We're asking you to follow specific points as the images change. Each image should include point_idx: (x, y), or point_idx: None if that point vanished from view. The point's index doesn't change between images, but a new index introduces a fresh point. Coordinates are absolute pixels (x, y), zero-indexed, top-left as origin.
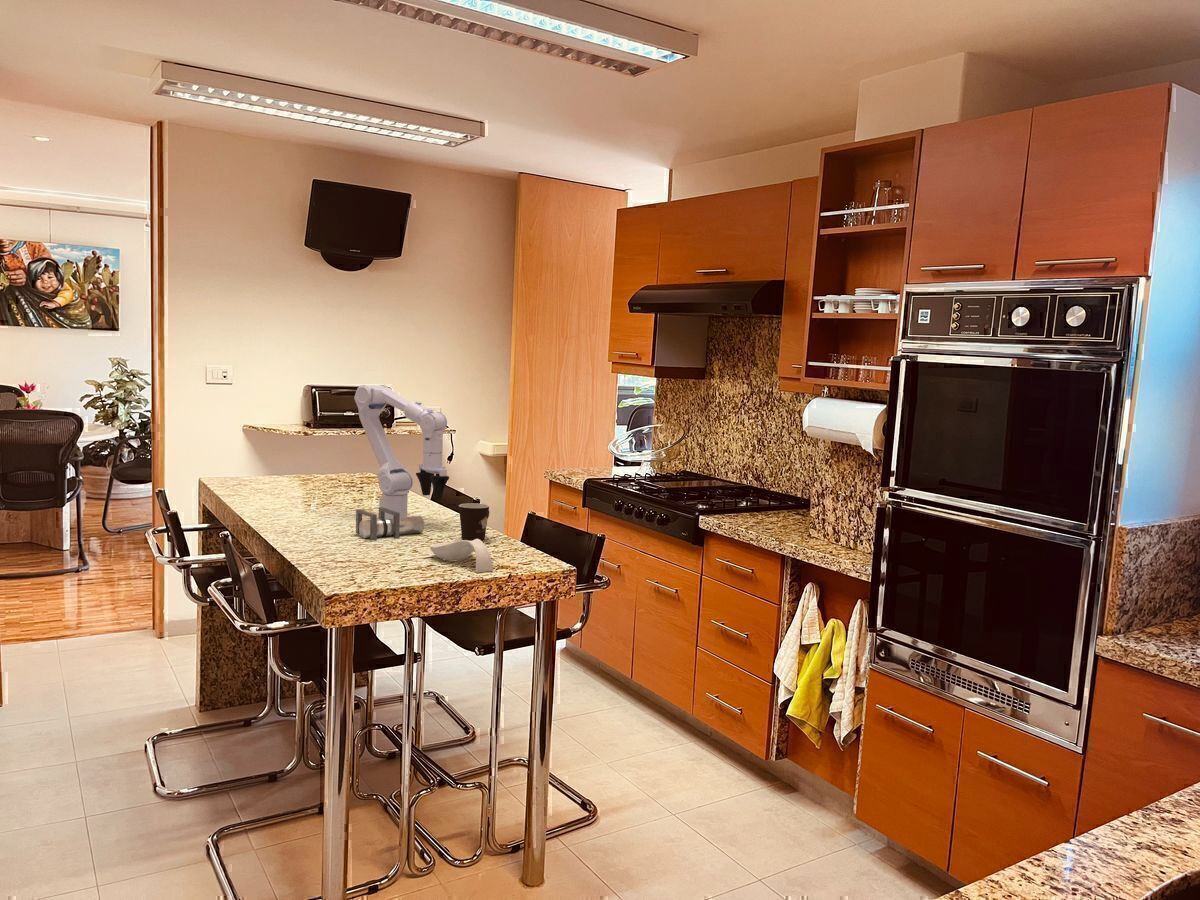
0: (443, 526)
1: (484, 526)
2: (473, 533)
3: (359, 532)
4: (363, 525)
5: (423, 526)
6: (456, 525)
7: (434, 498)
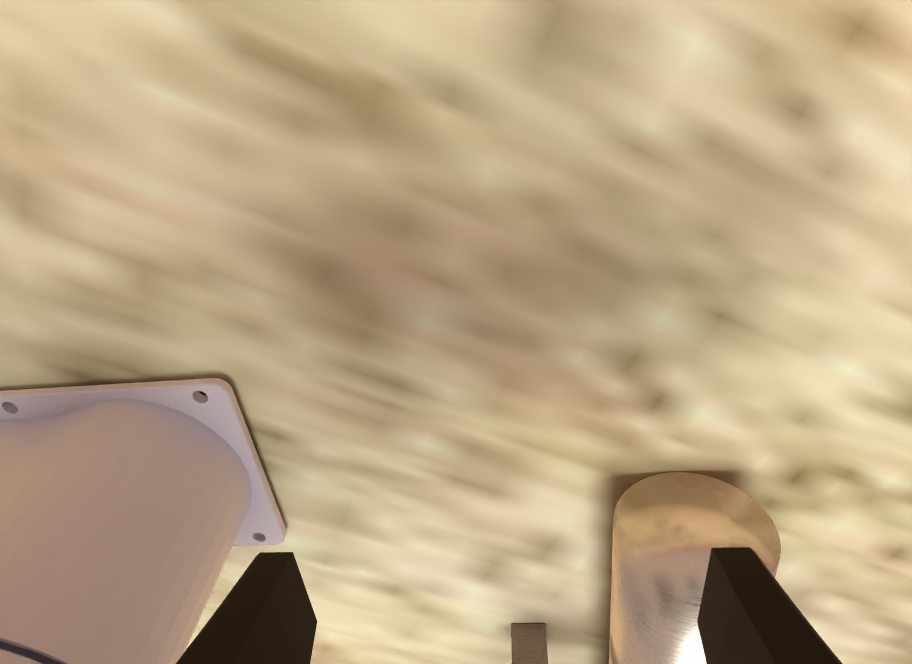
0: (489, 185)
1: None
2: None
3: None
4: None
5: (769, 524)
6: (489, 3)
7: (707, 628)
